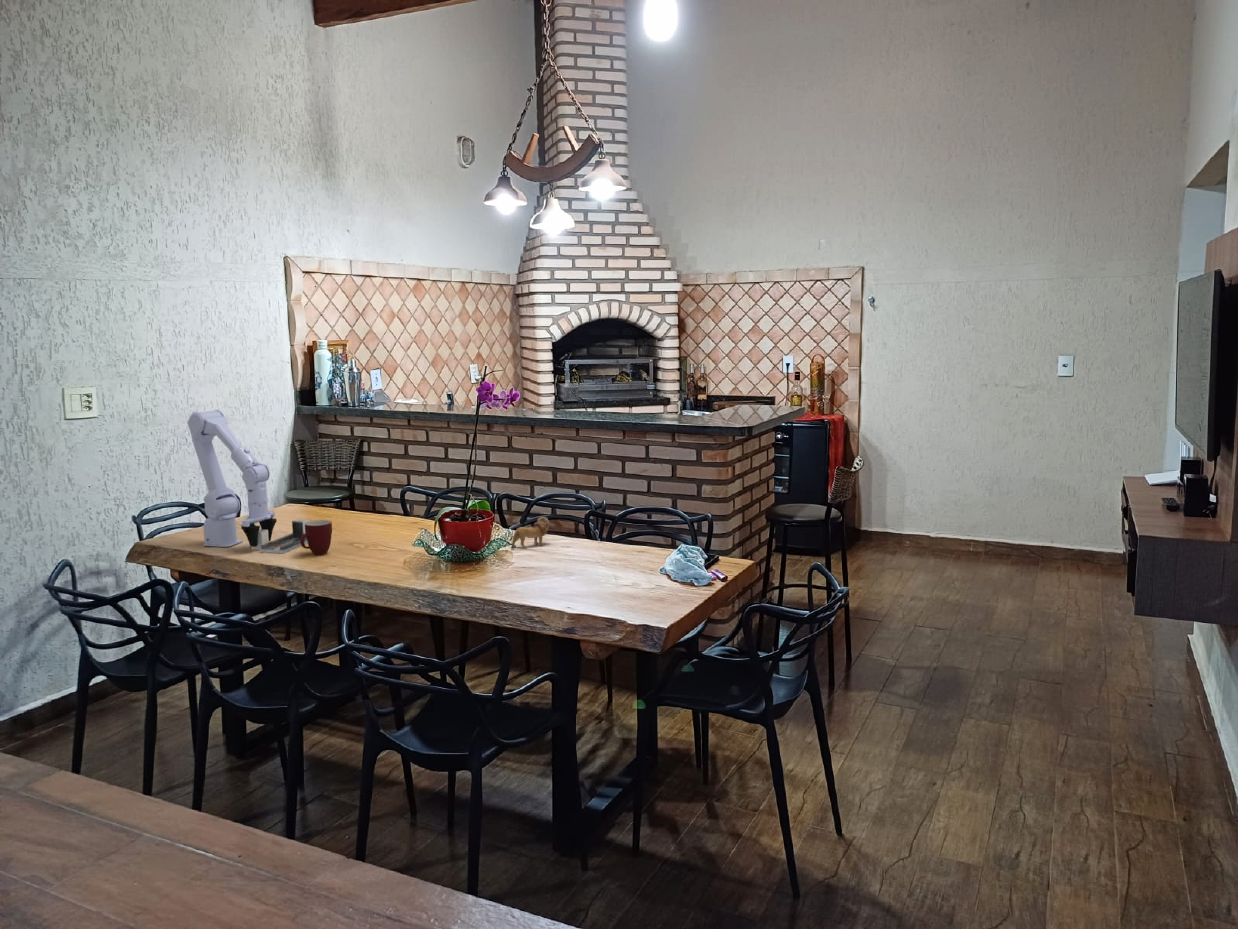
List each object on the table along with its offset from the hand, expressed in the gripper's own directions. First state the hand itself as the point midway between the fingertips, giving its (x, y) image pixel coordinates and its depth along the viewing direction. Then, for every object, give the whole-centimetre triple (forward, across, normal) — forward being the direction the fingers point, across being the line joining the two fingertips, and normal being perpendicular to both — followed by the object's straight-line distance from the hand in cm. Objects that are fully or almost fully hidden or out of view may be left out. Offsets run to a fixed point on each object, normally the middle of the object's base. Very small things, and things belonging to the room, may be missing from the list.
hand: (260, 543), depth 284 cm
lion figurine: (+2, +21, -84) cm, 87 cm away
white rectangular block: (+2, 0, 0) cm, 2 cm away
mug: (+2, -3, -22) cm, 22 cm away
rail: (+2, +5, -7) cm, 9 cm away
